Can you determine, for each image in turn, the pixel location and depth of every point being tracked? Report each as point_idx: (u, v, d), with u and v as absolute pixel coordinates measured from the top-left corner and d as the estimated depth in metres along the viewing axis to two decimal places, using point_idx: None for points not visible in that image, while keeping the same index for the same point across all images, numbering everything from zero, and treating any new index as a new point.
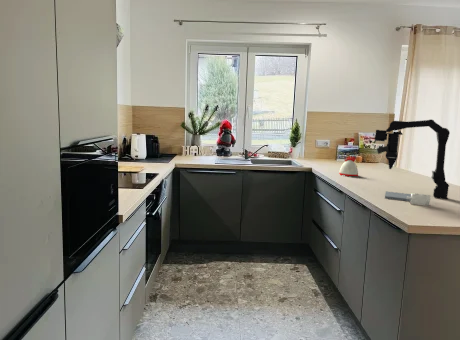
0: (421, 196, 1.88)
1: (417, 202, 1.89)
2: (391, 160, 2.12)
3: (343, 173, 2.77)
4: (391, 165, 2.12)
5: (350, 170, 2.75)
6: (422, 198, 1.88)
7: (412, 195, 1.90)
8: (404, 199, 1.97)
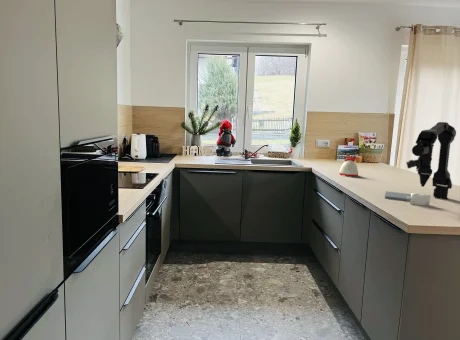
0: (421, 196, 1.88)
1: (417, 202, 1.89)
2: (424, 176, 1.83)
3: (343, 173, 2.77)
4: (424, 182, 1.84)
5: (350, 170, 2.75)
6: (422, 198, 1.88)
7: (412, 195, 1.90)
8: (404, 199, 1.97)
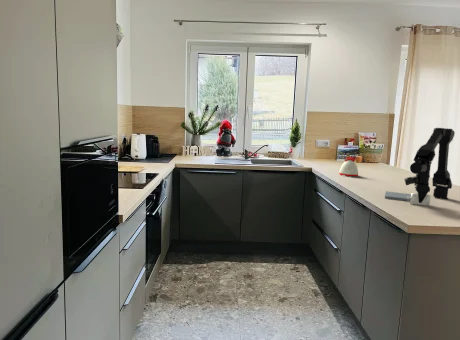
0: None
1: (417, 202, 1.89)
2: (422, 193, 1.87)
3: (343, 173, 2.77)
4: (421, 198, 1.87)
5: (350, 170, 2.75)
6: None
7: (412, 195, 1.90)
8: (404, 199, 1.97)
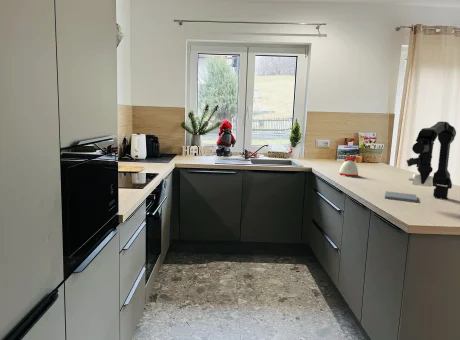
0: None
1: (419, 183, 1.88)
2: (424, 174, 1.85)
3: (343, 173, 2.77)
4: (424, 179, 1.86)
5: (350, 170, 2.75)
6: None
7: (414, 176, 1.89)
8: (404, 199, 1.97)
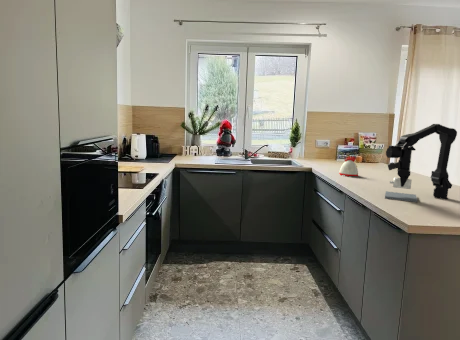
0: None
1: (399, 186, 2.03)
2: (403, 177, 2.00)
3: (343, 173, 2.77)
4: (403, 182, 2.01)
5: (350, 170, 2.75)
6: None
7: (394, 179, 2.04)
8: (404, 199, 1.97)
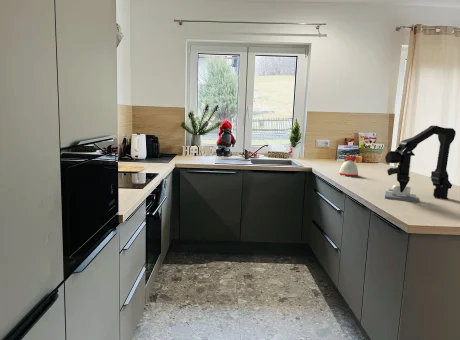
0: None
1: (398, 193, 2.03)
2: (402, 183, 1.99)
3: (343, 173, 2.77)
4: (402, 188, 2.00)
5: (350, 170, 2.75)
6: None
7: (394, 187, 2.05)
8: (404, 199, 1.97)
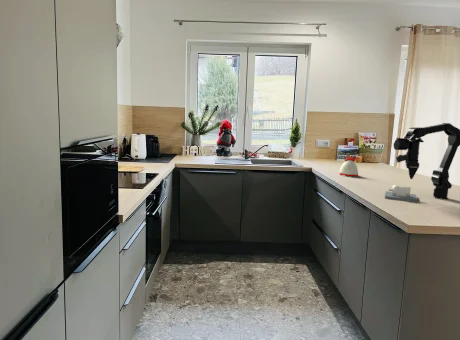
0: (402, 188, 2.02)
1: (398, 193, 2.03)
2: (412, 170, 2.00)
3: (343, 173, 2.77)
4: (412, 175, 2.00)
5: (350, 170, 2.75)
6: (402, 190, 2.02)
7: (394, 187, 2.05)
8: (404, 199, 1.97)
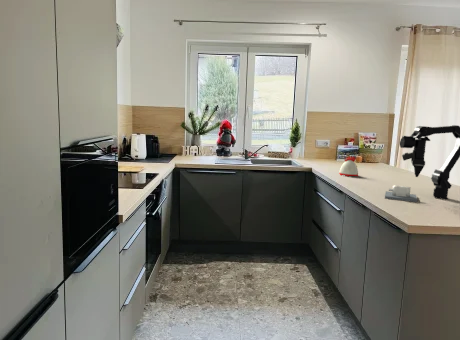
0: (402, 188, 2.02)
1: (398, 193, 2.03)
2: (418, 168, 2.02)
3: (343, 173, 2.77)
4: (418, 173, 2.02)
5: (350, 170, 2.75)
6: (402, 190, 2.02)
7: (394, 187, 2.05)
8: (404, 199, 1.97)
